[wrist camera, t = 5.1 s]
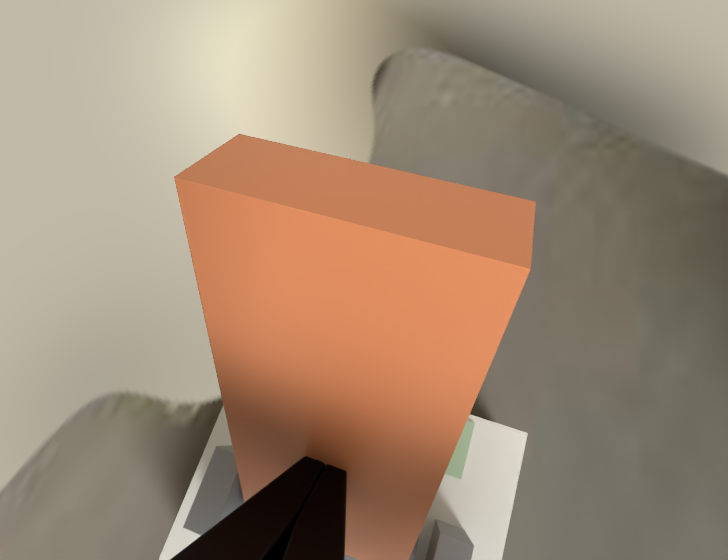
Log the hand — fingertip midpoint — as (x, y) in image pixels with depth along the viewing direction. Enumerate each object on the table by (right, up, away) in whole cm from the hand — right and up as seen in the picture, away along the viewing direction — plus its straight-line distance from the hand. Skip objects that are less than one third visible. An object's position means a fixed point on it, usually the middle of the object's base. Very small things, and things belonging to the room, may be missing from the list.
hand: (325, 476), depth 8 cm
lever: (0, -3, +3) cm, 4 cm away
